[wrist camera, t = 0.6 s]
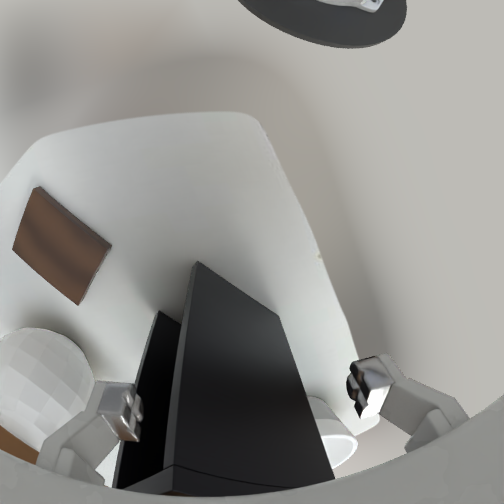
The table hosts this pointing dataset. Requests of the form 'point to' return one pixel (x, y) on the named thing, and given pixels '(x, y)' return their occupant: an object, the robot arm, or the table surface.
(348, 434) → the bowl
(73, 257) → the board
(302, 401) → the tall black box
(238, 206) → the table surface
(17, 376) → the pitcher
